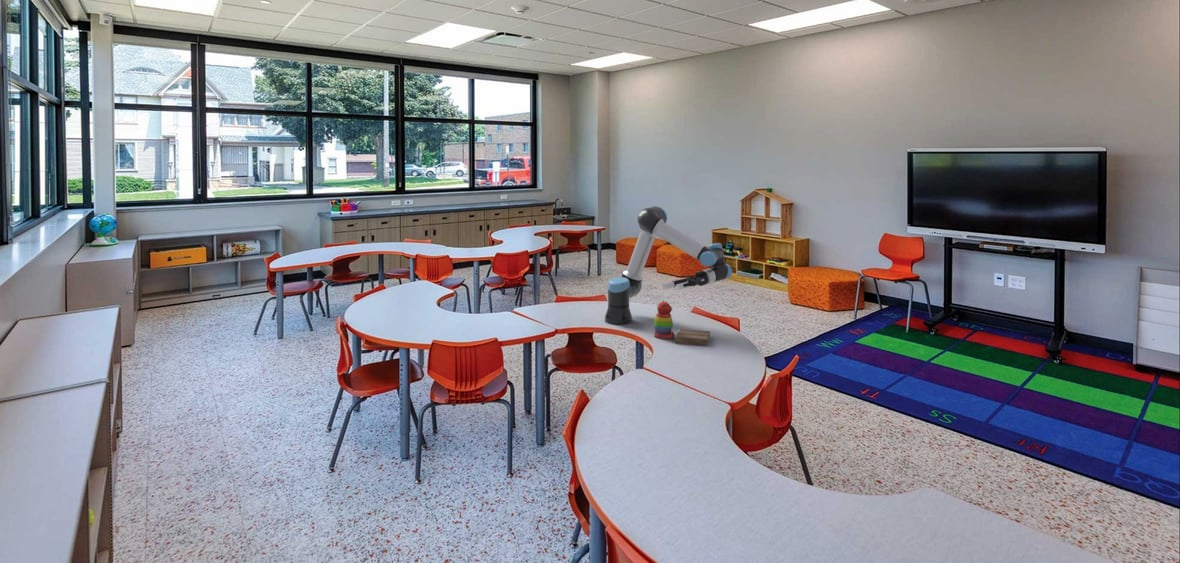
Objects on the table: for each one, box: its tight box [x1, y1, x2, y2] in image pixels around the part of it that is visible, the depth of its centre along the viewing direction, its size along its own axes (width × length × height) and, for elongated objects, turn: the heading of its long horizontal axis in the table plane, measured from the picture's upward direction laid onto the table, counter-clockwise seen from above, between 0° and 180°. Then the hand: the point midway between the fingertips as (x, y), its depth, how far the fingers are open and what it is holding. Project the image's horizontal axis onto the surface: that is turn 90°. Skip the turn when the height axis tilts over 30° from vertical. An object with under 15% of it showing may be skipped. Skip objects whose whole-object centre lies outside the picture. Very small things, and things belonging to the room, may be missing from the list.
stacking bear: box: [653, 300, 675, 340], centre depth 305 cm, size 11×10×18 cm
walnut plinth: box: [675, 328, 711, 347], centre depth 300 cm, size 15×15×3 cm
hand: (670, 287), depth 308 cm, fingers open, 13 cm apart
